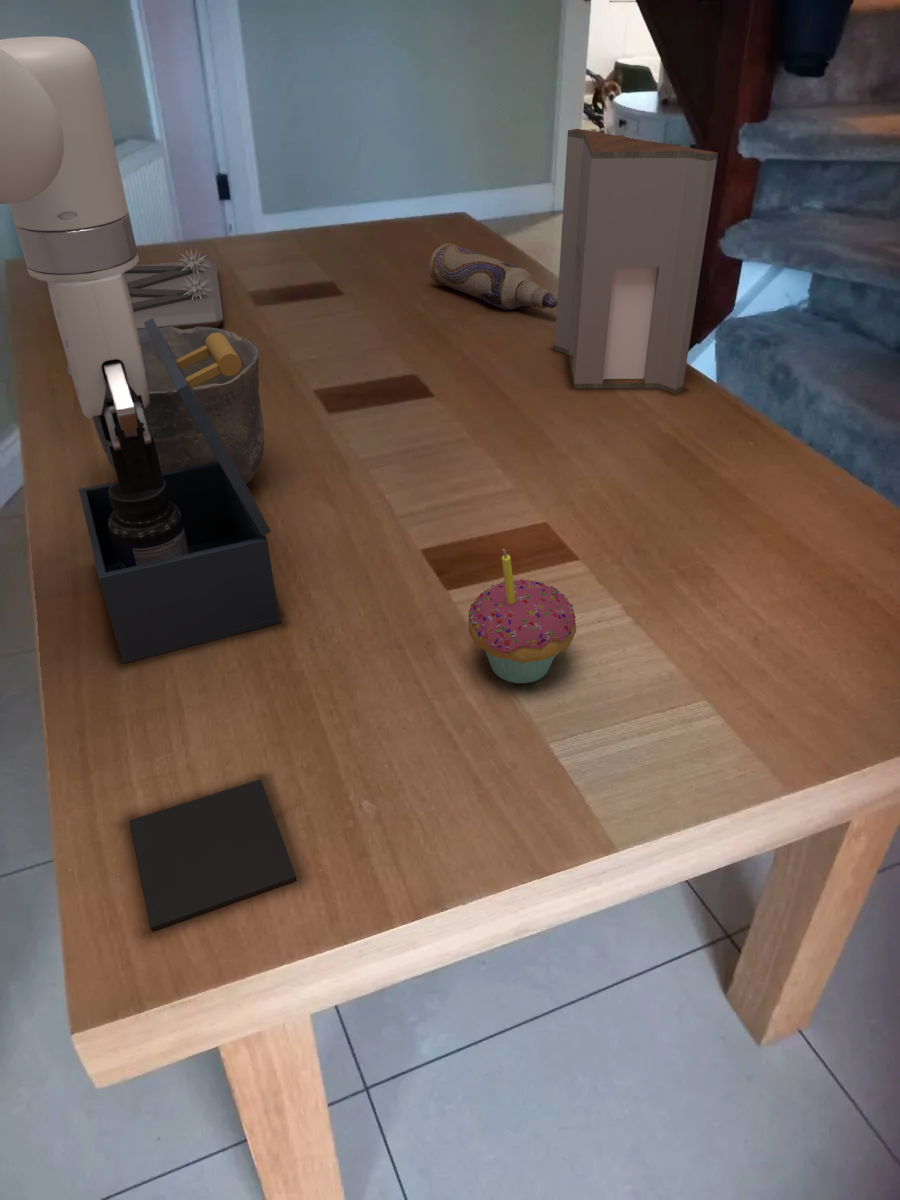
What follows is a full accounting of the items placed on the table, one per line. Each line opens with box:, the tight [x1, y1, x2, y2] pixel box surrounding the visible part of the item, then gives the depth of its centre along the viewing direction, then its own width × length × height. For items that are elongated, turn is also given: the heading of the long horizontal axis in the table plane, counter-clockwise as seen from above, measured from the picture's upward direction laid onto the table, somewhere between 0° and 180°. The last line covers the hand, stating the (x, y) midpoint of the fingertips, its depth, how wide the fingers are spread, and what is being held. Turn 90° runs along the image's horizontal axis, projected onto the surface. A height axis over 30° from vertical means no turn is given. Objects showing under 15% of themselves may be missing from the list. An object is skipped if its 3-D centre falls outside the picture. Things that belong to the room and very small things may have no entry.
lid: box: [144, 318, 272, 536], centre depth 75 cm, size 14×15×5 cm
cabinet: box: [554, 128, 719, 395], centre depth 114 cm, size 21×10×28 cm, turn 42°
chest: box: [78, 461, 281, 664], centre depth 81 cm, size 13×15×9 cm
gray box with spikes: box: [125, 247, 224, 330], centre depth 145 cm, size 30×22×7 cm
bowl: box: [66, 326, 265, 485], centre depth 94 cm, size 18×18×15 cm
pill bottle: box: [108, 479, 190, 570], centre depth 79 cm, size 6×6×11 cm
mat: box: [128, 779, 297, 932], centre depth 60 cm, size 9×9×1 cm
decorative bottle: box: [428, 243, 558, 311], centre depth 144 cm, size 26×8×7 cm, turn 40°
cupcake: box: [467, 548, 577, 684], centre depth 71 cm, size 9×8×12 cm
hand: (133, 462), depth 75 cm, fingers open, 9 cm apart
